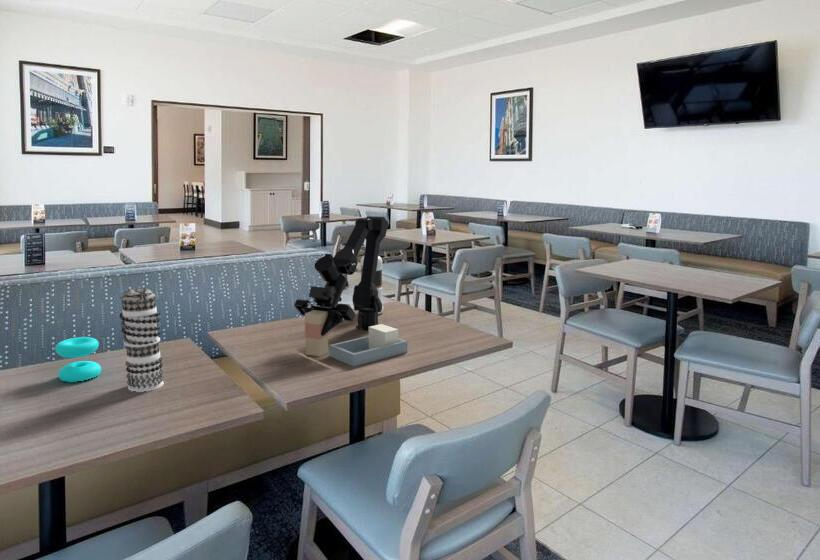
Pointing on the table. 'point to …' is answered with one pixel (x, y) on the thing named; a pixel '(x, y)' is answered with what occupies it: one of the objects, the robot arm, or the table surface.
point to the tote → (364, 351)
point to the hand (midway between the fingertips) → (314, 334)
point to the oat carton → (315, 333)
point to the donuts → (81, 368)
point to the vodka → (377, 279)
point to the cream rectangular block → (382, 336)
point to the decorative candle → (141, 340)
